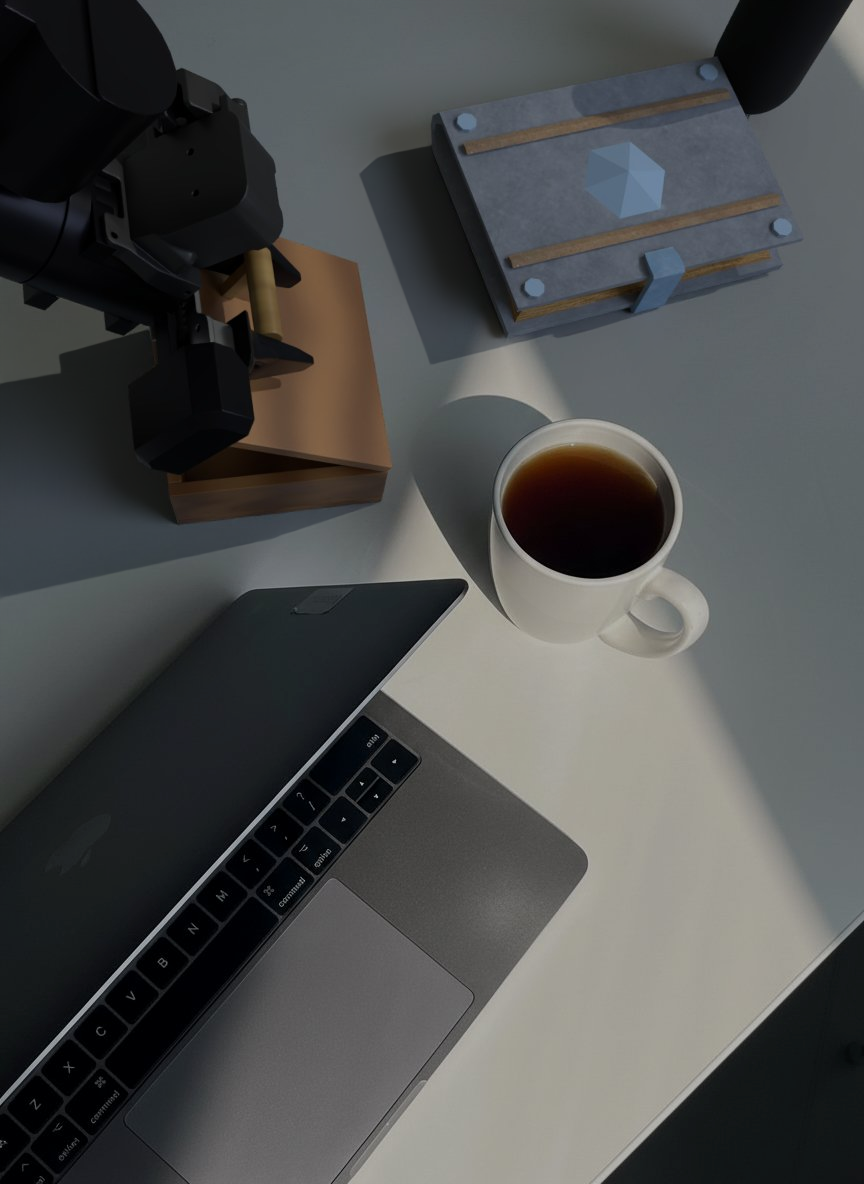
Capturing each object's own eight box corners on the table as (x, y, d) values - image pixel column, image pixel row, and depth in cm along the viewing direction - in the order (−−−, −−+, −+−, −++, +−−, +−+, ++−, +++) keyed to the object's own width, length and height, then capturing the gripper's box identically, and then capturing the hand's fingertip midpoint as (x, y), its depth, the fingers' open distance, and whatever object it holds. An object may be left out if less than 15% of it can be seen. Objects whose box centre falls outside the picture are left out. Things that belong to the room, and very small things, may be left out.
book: (690, 89, 77) (716, 36, 72) (779, 277, 73) (812, 235, 69) (427, 144, 73) (436, 91, 68) (507, 346, 69) (523, 307, 64)
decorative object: (793, 91, 78) (905, -86, 64) (758, 151, 76) (865, -18, 62) (719, 48, 78) (813, -138, 64) (682, 106, 77) (771, -73, 62)
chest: (178, 525, 63) (169, 496, 58) (155, 326, 66) (145, 285, 62) (381, 501, 65) (388, 472, 60) (350, 310, 68) (354, 269, 64)
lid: (178, 438, 51) (225, 399, 48) (151, 203, 55) (193, 151, 51) (385, 472, 60) (437, 441, 57) (351, 268, 64) (398, 228, 60)
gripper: (169, 329, 37) (445, 423, 49) (122, -86, 41) (384, 93, 53) (9, 445, 43) (286, 503, 55) (-16, 76, 48) (244, 203, 60)
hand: (302, 323), depth 56 cm, fingers closed on lid, 5 cm apart
